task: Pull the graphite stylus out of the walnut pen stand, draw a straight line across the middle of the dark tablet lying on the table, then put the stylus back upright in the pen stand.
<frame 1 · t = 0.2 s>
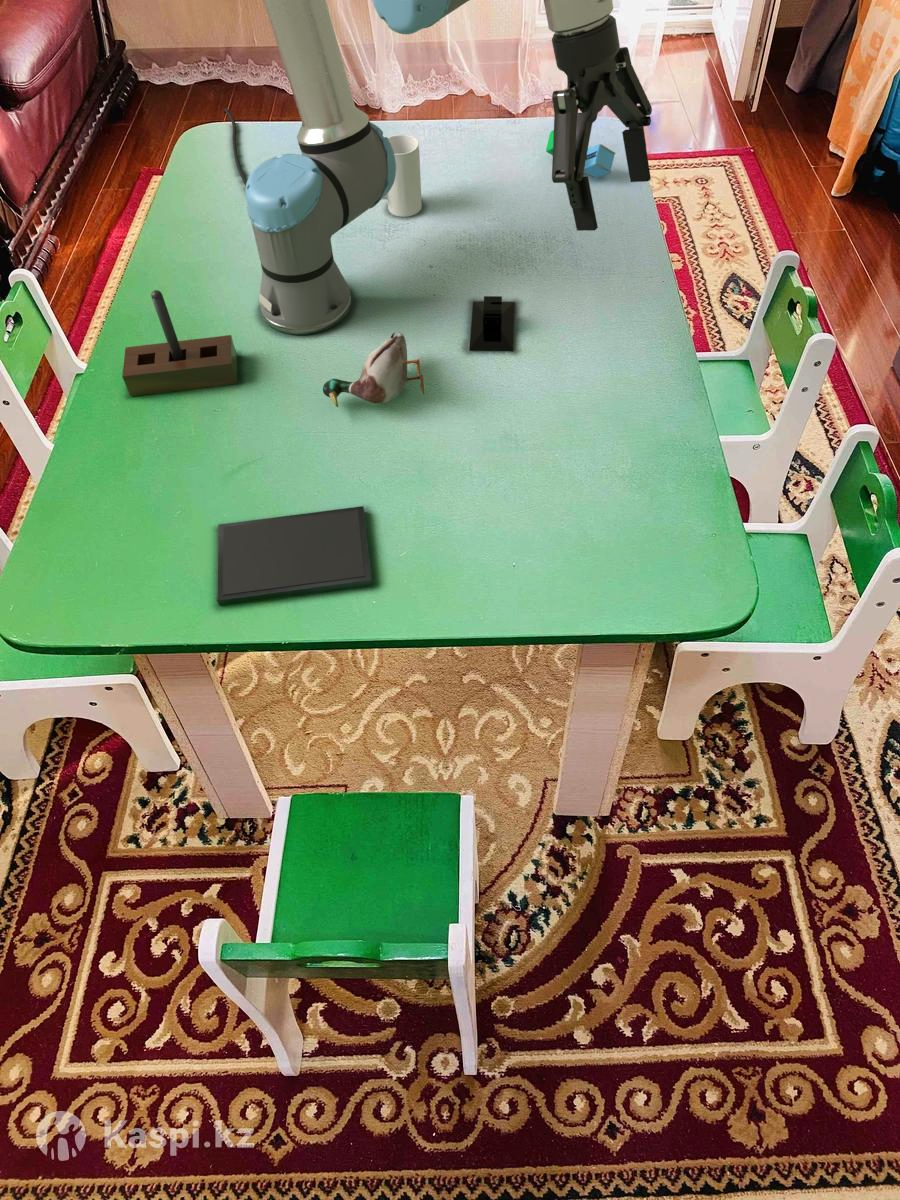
hand: (614, 204, 120), 28 cm above the table, tool tilted 20°, fingers open, 13 cm apart
stylus: (170, 335, 140), in the pen stand
building blocks: (578, 169, 177), on the table
pen stand: (184, 375, 146), on the table
tablet: (294, 557, 123), on the table
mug: (396, 210, 171), on the table
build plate: (492, 327, 150), on the table
decorative duck model: (376, 387, 143), on the table
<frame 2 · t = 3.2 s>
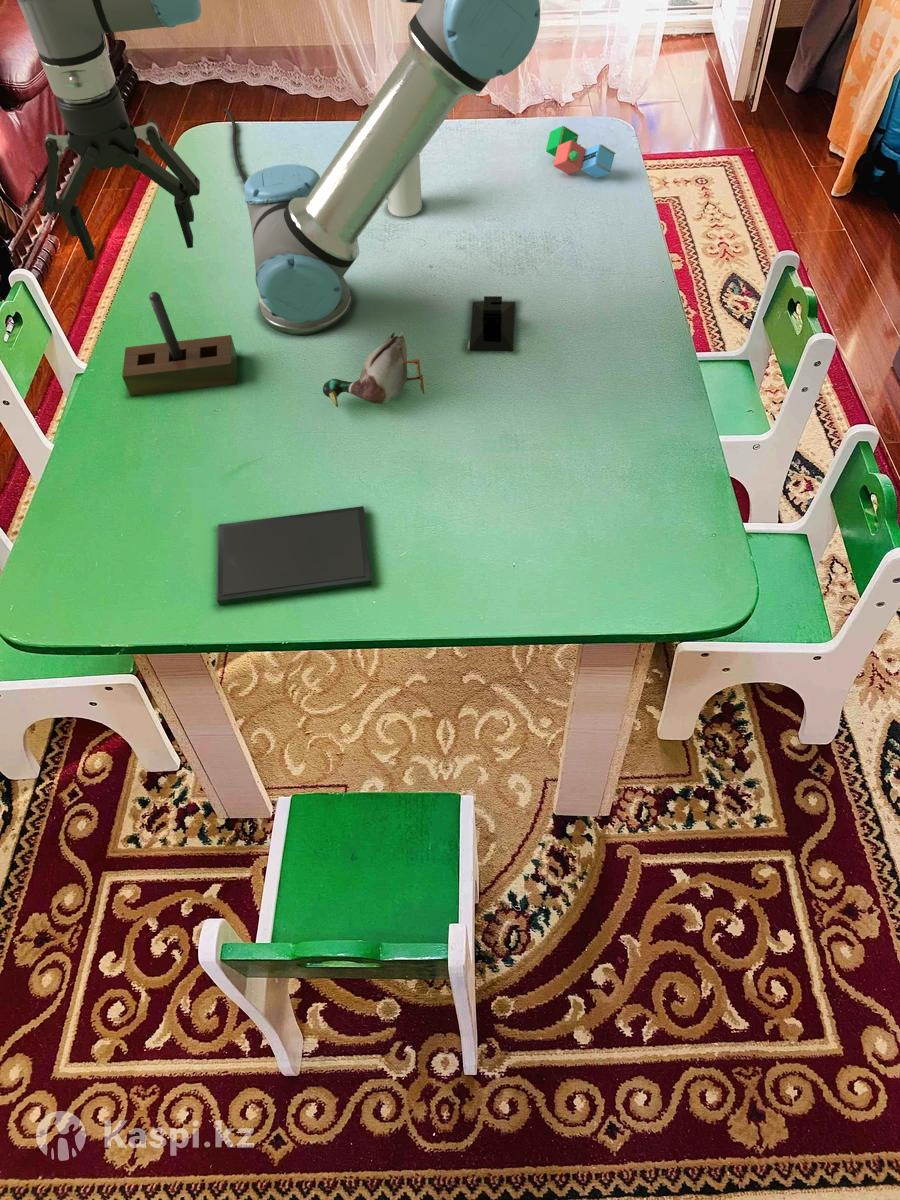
hand: (141, 248, 127), 23 cm above the table, tool pointing down, fingers open, 13 cm apart
nothing on the table moved.
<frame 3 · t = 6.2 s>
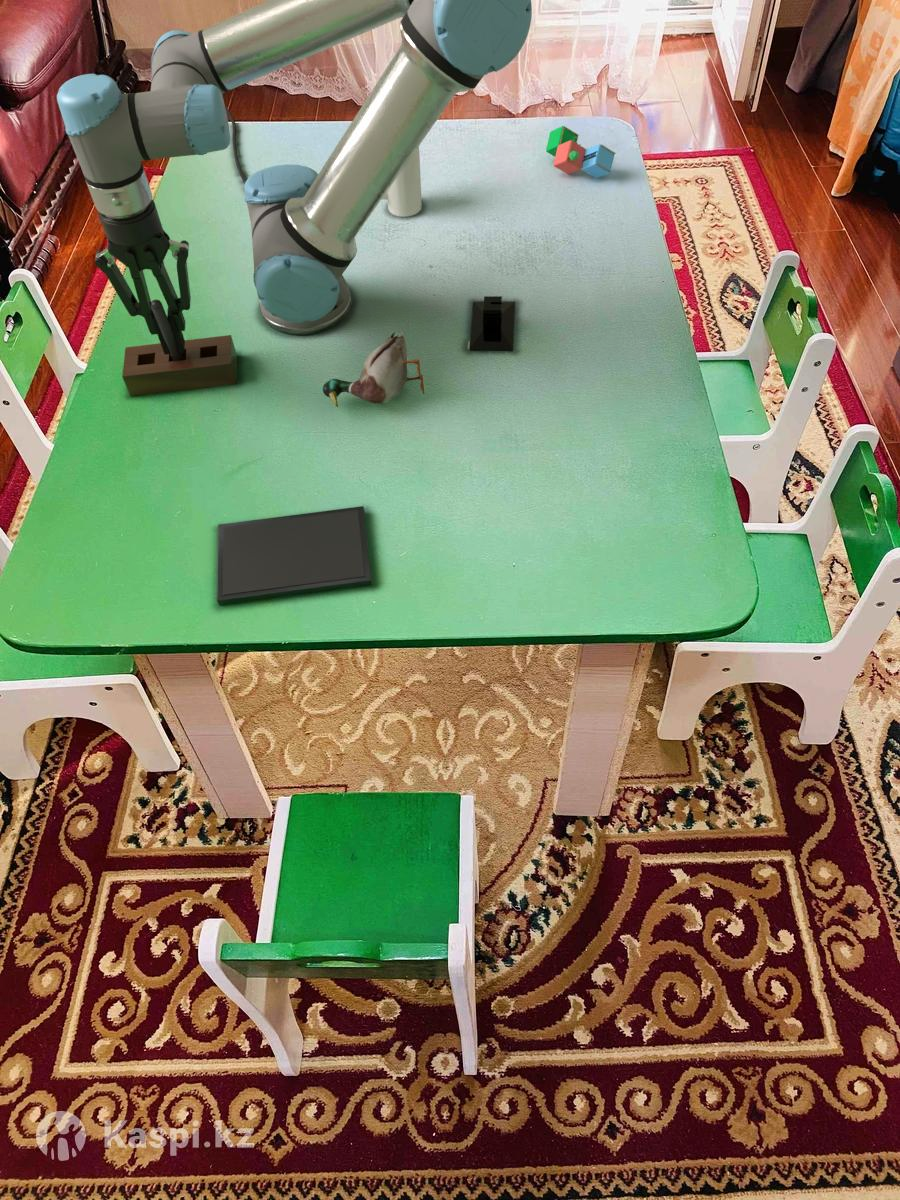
hand: (174, 347, 142), 5 cm above the table, tool pointing down, fingers closed on stylus, 1 cm apart
stylus: (170, 339, 139), in the pen stand, tilted 8°, touching gripper
everything else where it was.
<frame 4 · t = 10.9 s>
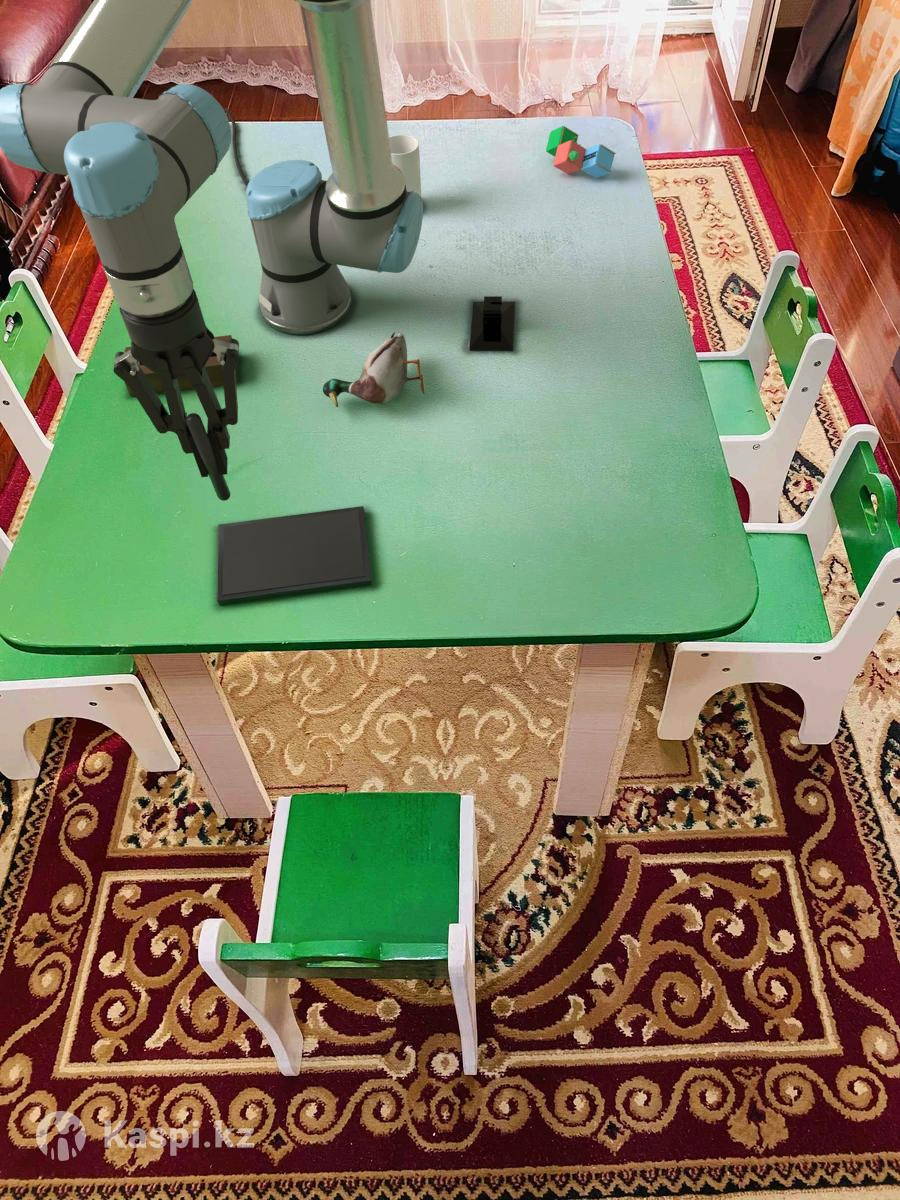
hand: (214, 467, 109), 18 cm above the table, tool pointing down, fingers closed on stylus, 1 cm apart
stylus: (209, 459, 106), point 20 cm above the table, tilted 8°, touching gripper
everything else where it was.
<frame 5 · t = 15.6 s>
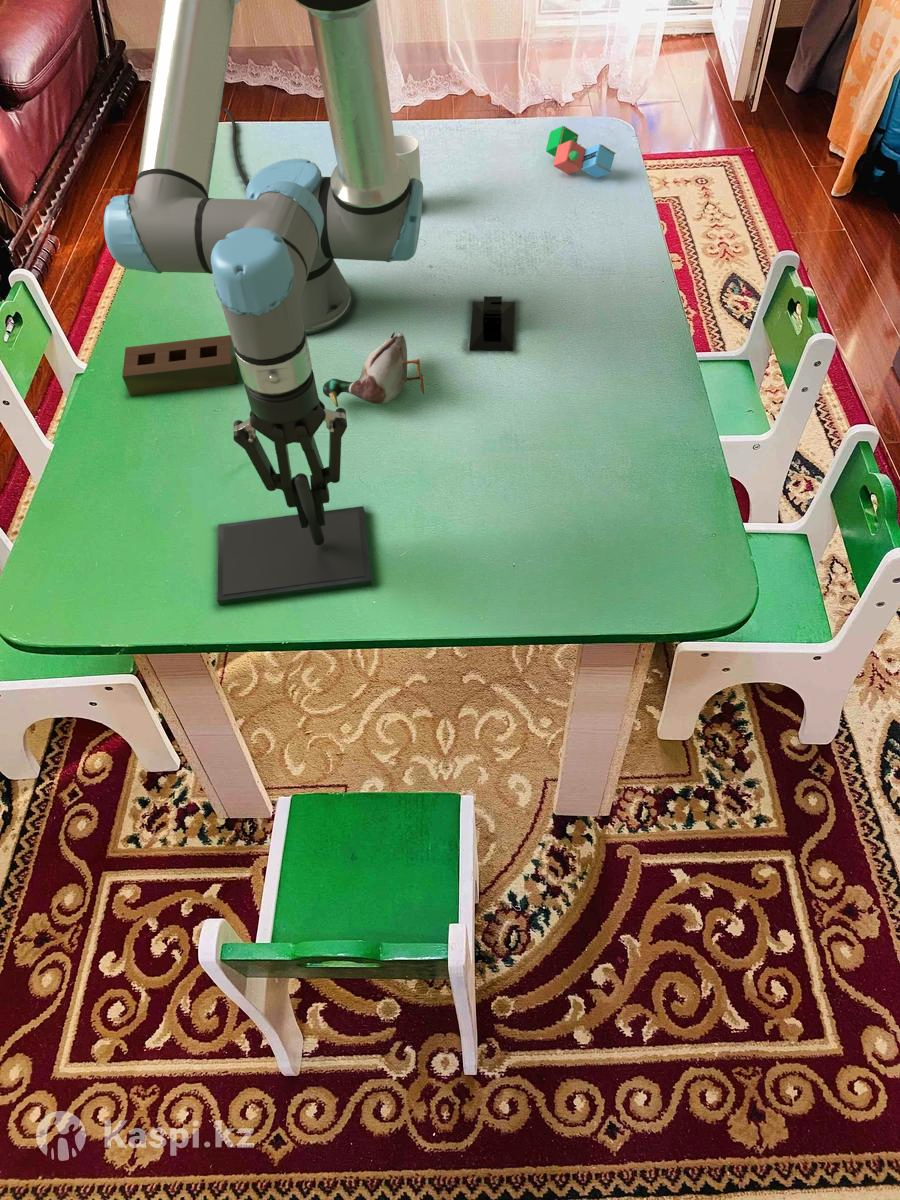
hand: (312, 518, 118), 7 cm above the table, tool pointing down, fingers closed on stylus, 1 cm apart
stylus: (310, 511, 115), point 10 cm above the table, tilted 10°, touching gripper
everything else where it was.
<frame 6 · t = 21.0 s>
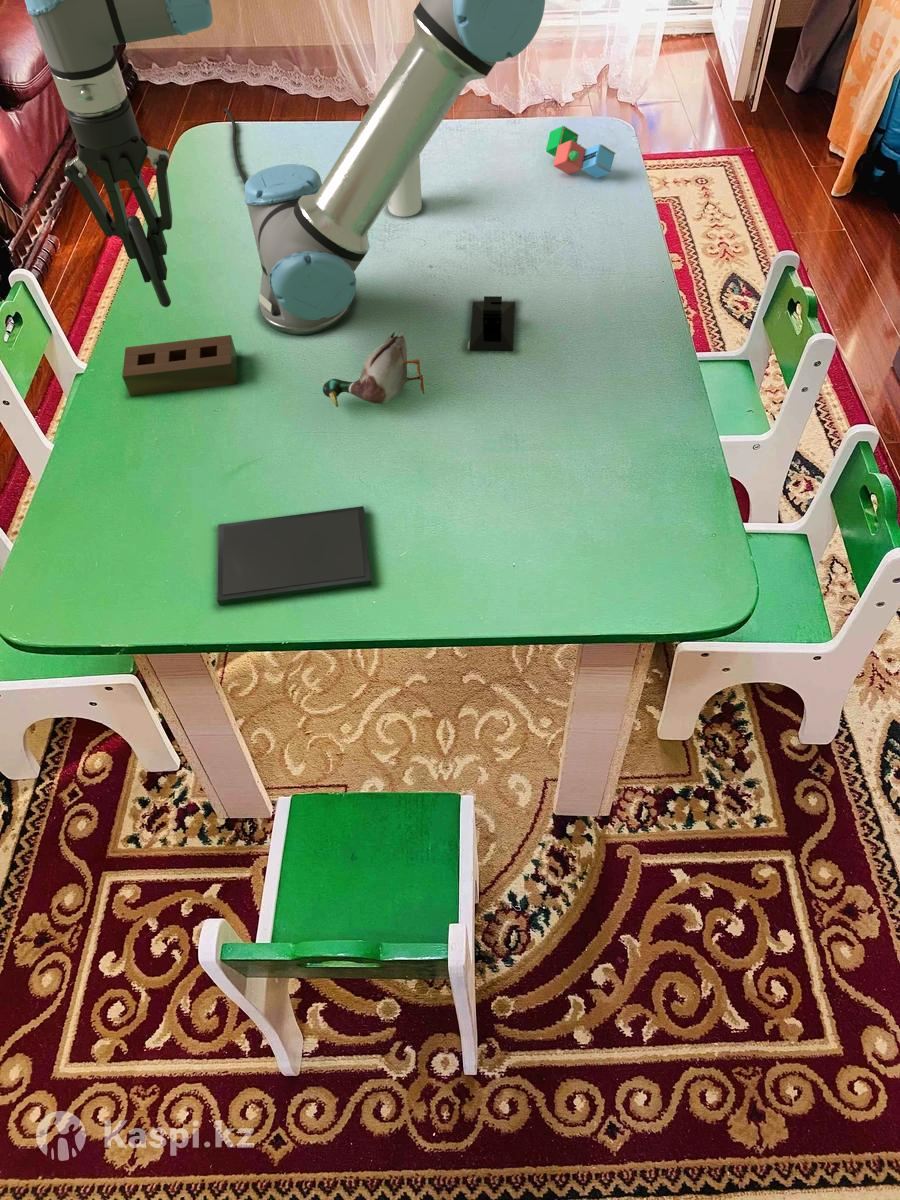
hand: (155, 275, 128), 20 cm above the table, tool pointing down, fingers closed on stylus, 1 cm apart
stylus: (150, 263, 126), point 22 cm above the table, tilted 9°, touching gripper
everything else where it was.
when the fingers open (5 cm above the table, at t = 25.2 s): stylus stays where it is, resting on pen stand.
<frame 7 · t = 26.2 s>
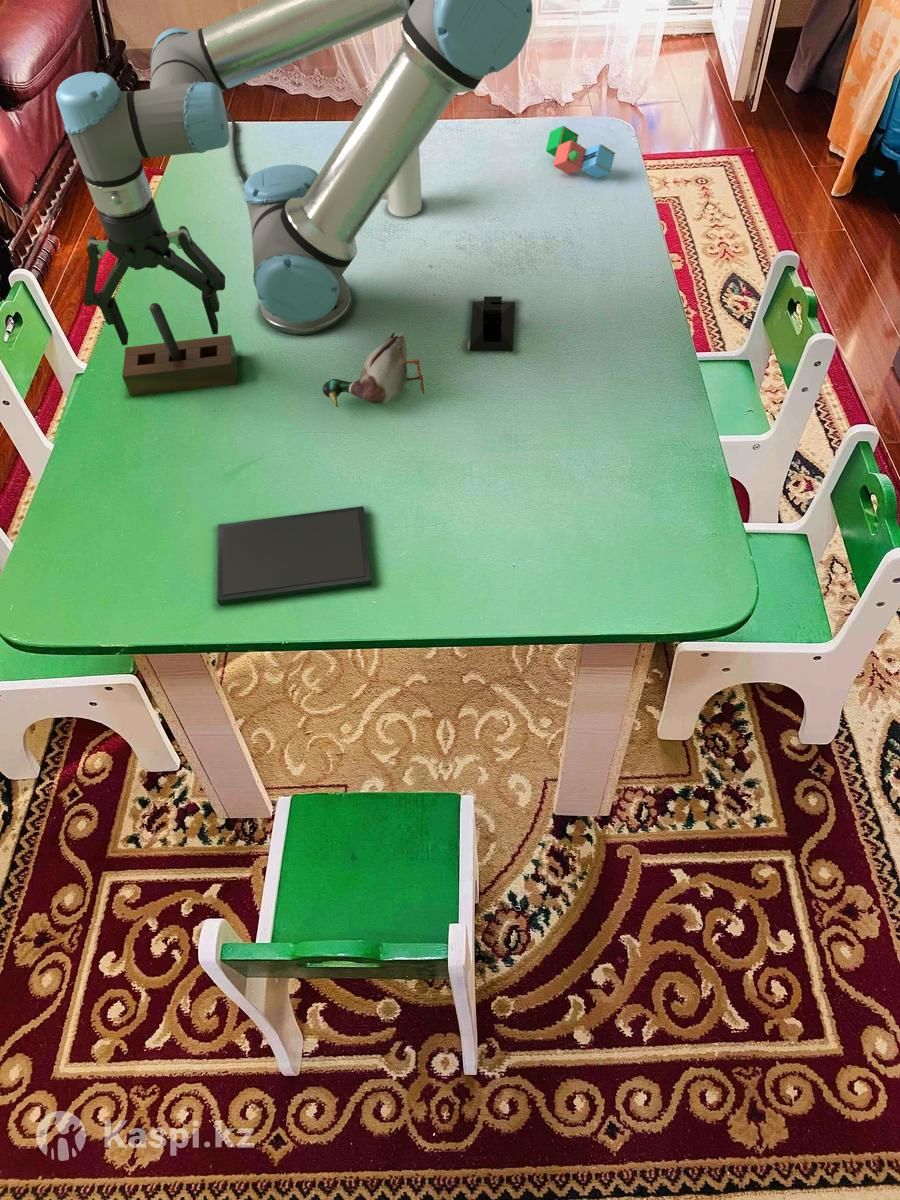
hand: (170, 334, 140), 8 cm above the table, tool pointing down, fingers open, 13 cm apart
stylus: (169, 341, 139), in the pen stand, tilted 12°
everything else where it was.
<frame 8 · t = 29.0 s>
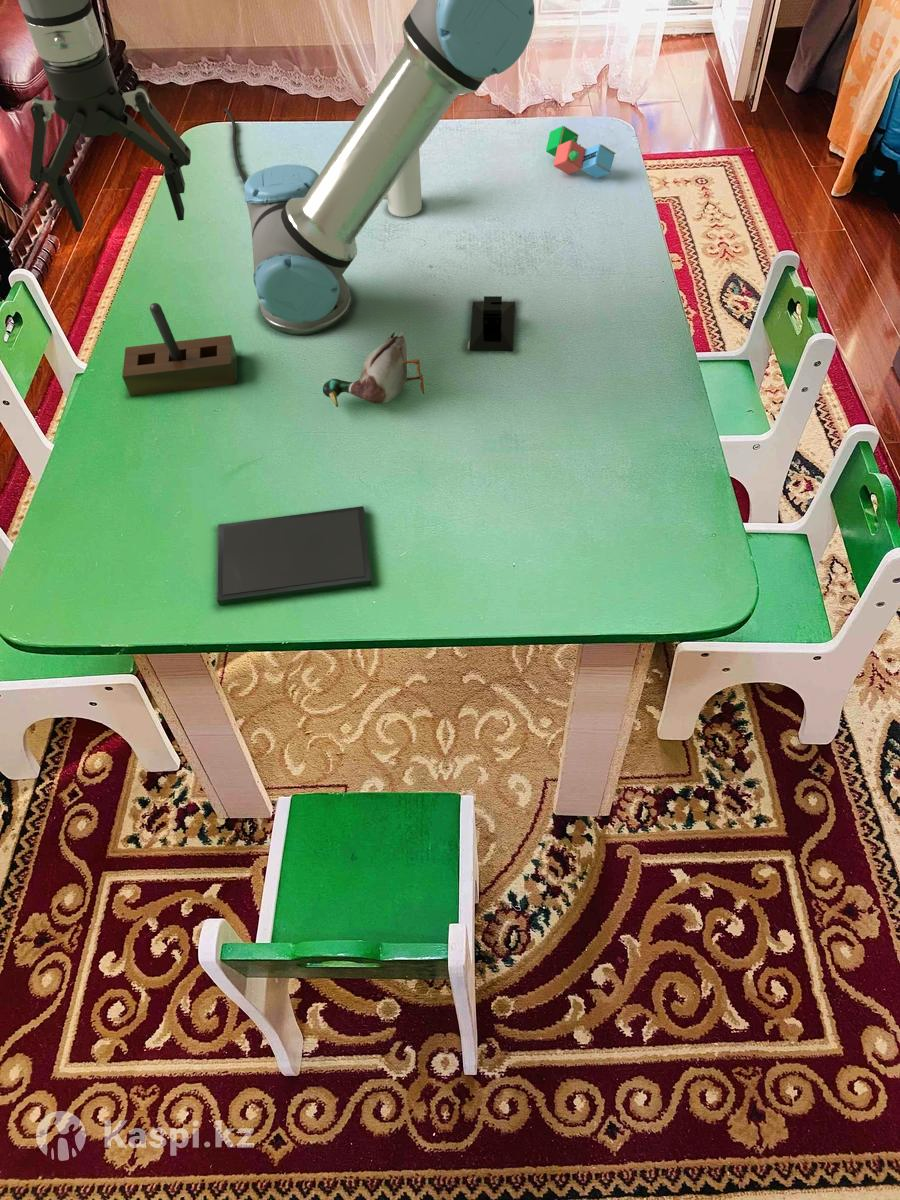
hand: (130, 220, 124), 27 cm above the table, tool pointing down, fingers open, 13 cm apart
nothing on the table moved.
at the end: stylus 0.3 cm off-centre in the pen stand, point 7.7 cm above the pen stand's base; stylus tilted 12°; tablet moved 0.0 cm from its start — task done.
